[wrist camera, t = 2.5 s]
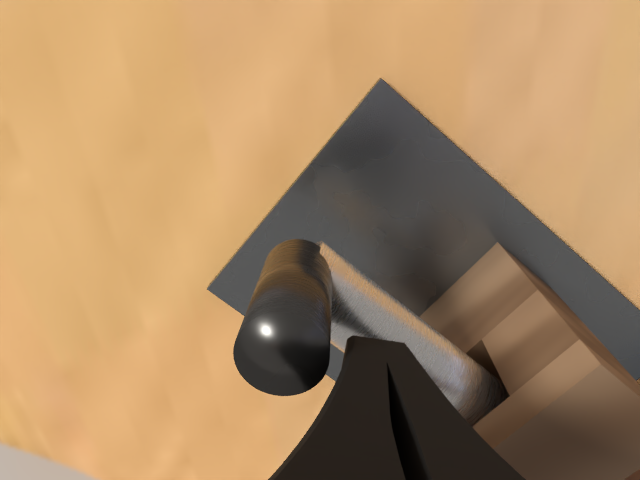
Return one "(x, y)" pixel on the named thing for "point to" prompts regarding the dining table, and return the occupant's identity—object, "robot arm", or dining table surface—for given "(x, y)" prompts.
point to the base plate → (420, 224)
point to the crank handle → (342, 329)
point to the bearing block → (542, 375)
